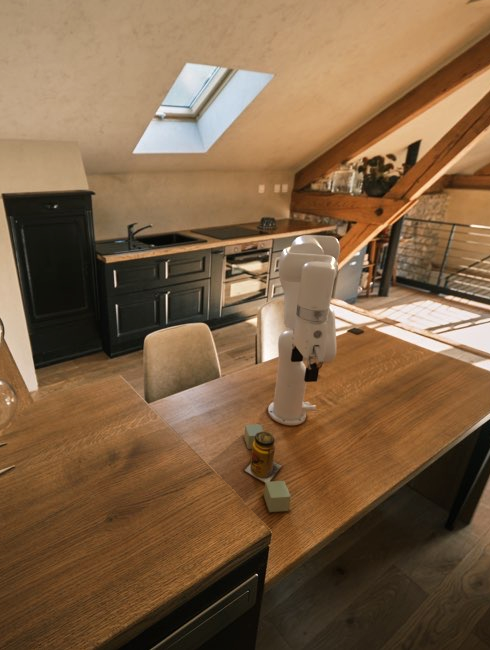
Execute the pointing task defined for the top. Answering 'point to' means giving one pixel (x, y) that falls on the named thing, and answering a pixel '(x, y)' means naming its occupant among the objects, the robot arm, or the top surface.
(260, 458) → the condiment
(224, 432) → the top surface
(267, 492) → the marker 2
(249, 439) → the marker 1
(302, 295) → the robot arm
